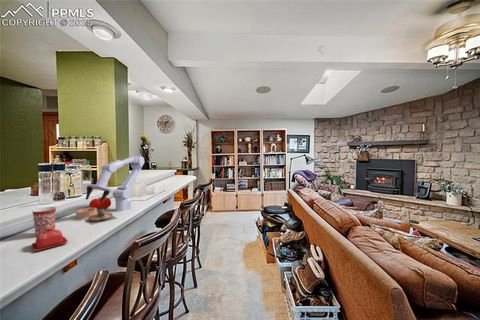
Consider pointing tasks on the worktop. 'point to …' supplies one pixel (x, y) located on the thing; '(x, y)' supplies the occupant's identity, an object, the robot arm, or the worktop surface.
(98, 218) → the lid
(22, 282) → the worktop surface
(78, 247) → the worktop surface
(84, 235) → the worktop surface
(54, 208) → the mug
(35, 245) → the butter dish
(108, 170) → the robot arm
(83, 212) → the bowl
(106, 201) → the tomato
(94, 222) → the mat
